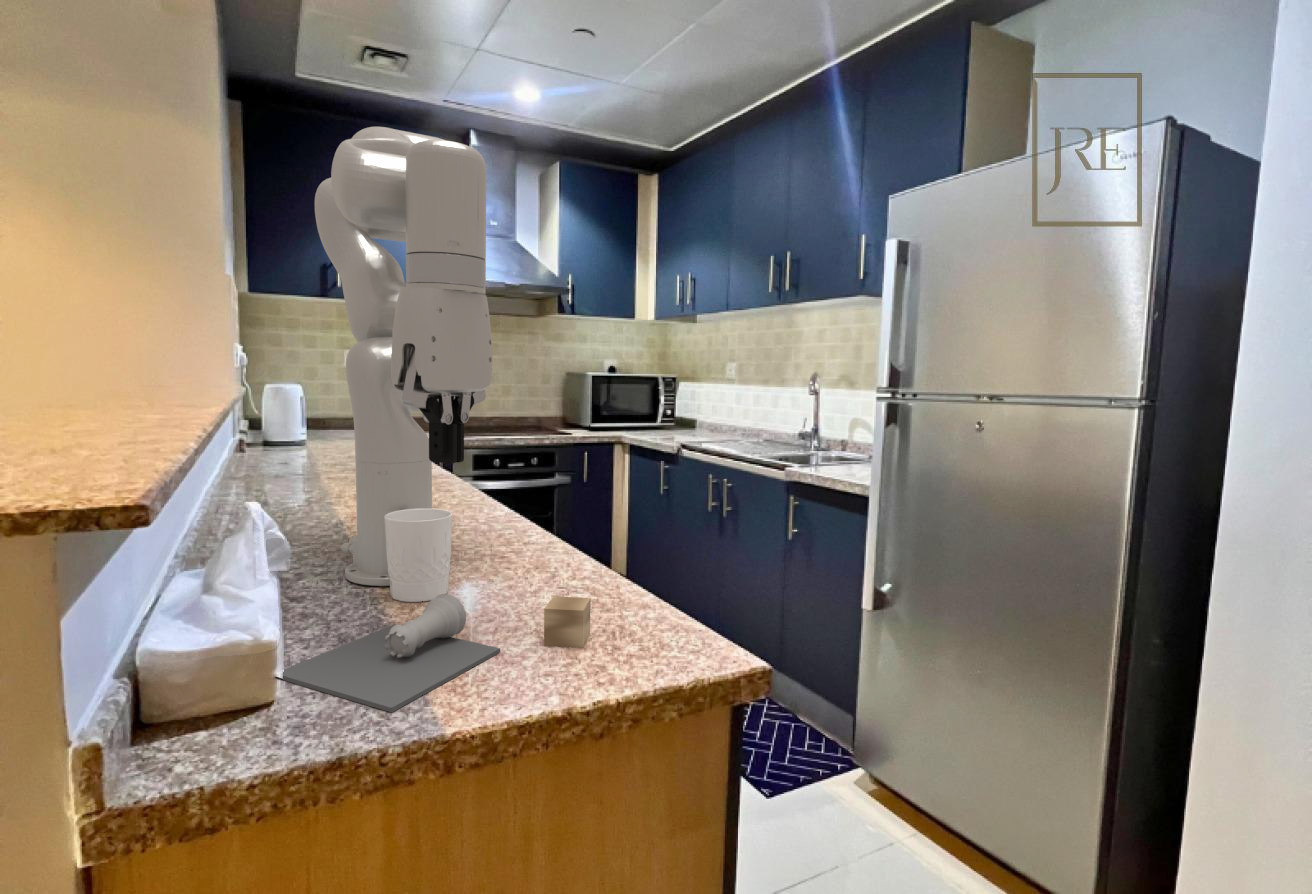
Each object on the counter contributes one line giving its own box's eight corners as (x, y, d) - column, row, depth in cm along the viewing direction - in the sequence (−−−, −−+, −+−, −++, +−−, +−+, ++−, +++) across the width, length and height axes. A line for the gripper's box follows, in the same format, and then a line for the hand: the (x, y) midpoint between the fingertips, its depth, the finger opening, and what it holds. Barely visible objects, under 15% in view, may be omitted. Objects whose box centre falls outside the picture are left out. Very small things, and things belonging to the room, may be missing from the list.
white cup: (425, 608, 81) (424, 523, 80) (371, 599, 84) (369, 517, 83) (465, 589, 89) (465, 511, 88) (415, 581, 91) (414, 506, 90)
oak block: (543, 646, 71) (544, 608, 70) (553, 632, 75) (553, 596, 74) (582, 649, 70) (583, 610, 70) (590, 634, 74) (590, 598, 74)
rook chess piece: (472, 633, 71) (417, 669, 64) (438, 632, 73) (381, 667, 66) (464, 591, 71) (408, 622, 64) (430, 592, 73) (372, 622, 66)
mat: (274, 677, 62) (274, 673, 62) (394, 627, 75) (394, 624, 75) (391, 712, 56) (391, 707, 56) (500, 652, 69) (500, 648, 69)
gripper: (467, 286, 77) (466, 450, 79) (357, 268, 64) (360, 467, 66) (523, 285, 74) (520, 457, 76) (419, 266, 60) (420, 475, 63)
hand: (446, 461), depth 71 cm, fingers closed
